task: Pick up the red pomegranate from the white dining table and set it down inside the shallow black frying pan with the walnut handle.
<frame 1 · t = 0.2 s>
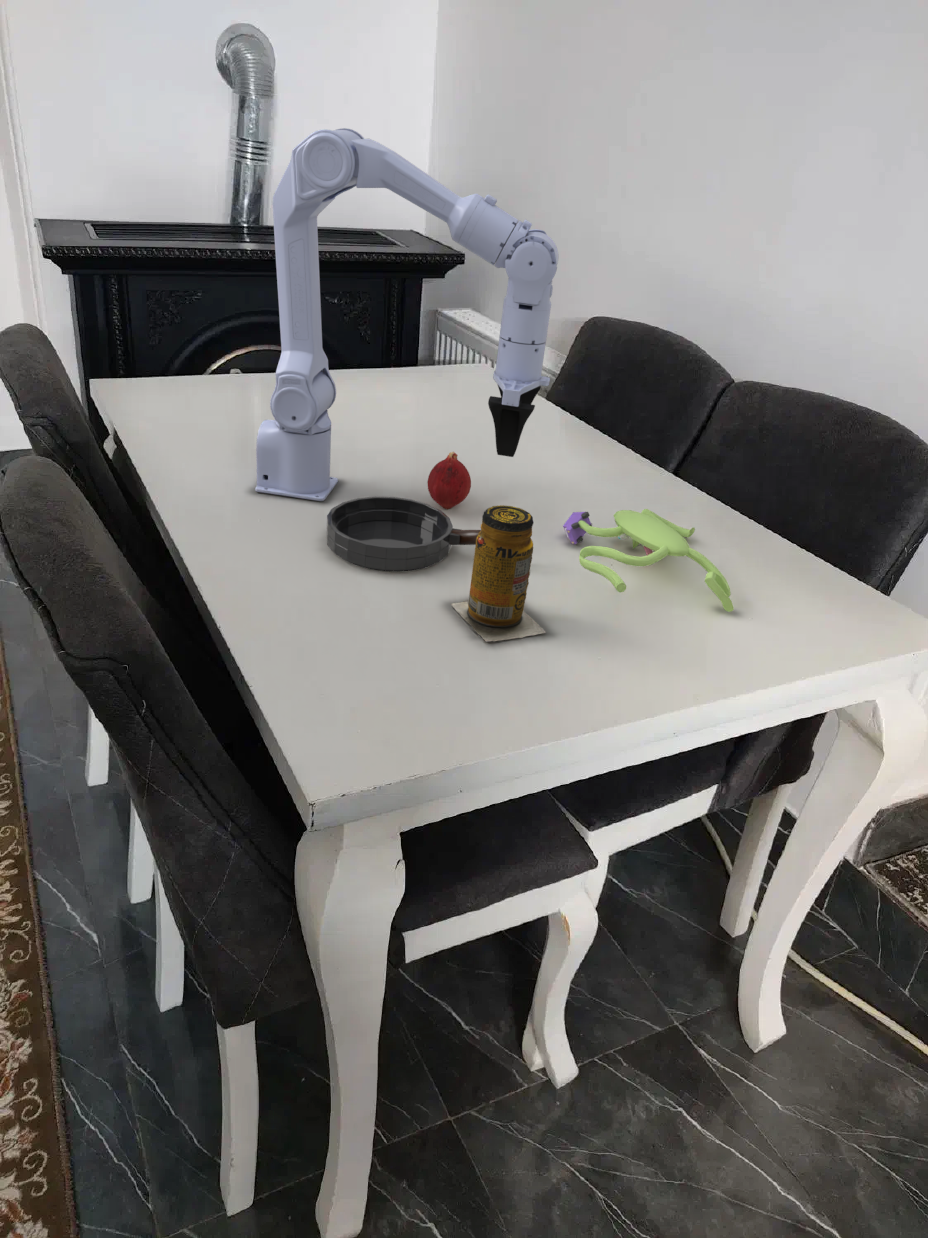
hand: (508, 445, 119), 10 cm above the table, tool pointing down, fingers open, 7 cm apart
figurine: (640, 571, 114), on the table
condiment: (497, 621, 99), on the table
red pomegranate: (446, 510, 124), on the table
pan handle: (485, 537, 110), point 3 cm above the table
pan: (388, 546, 113), on the table
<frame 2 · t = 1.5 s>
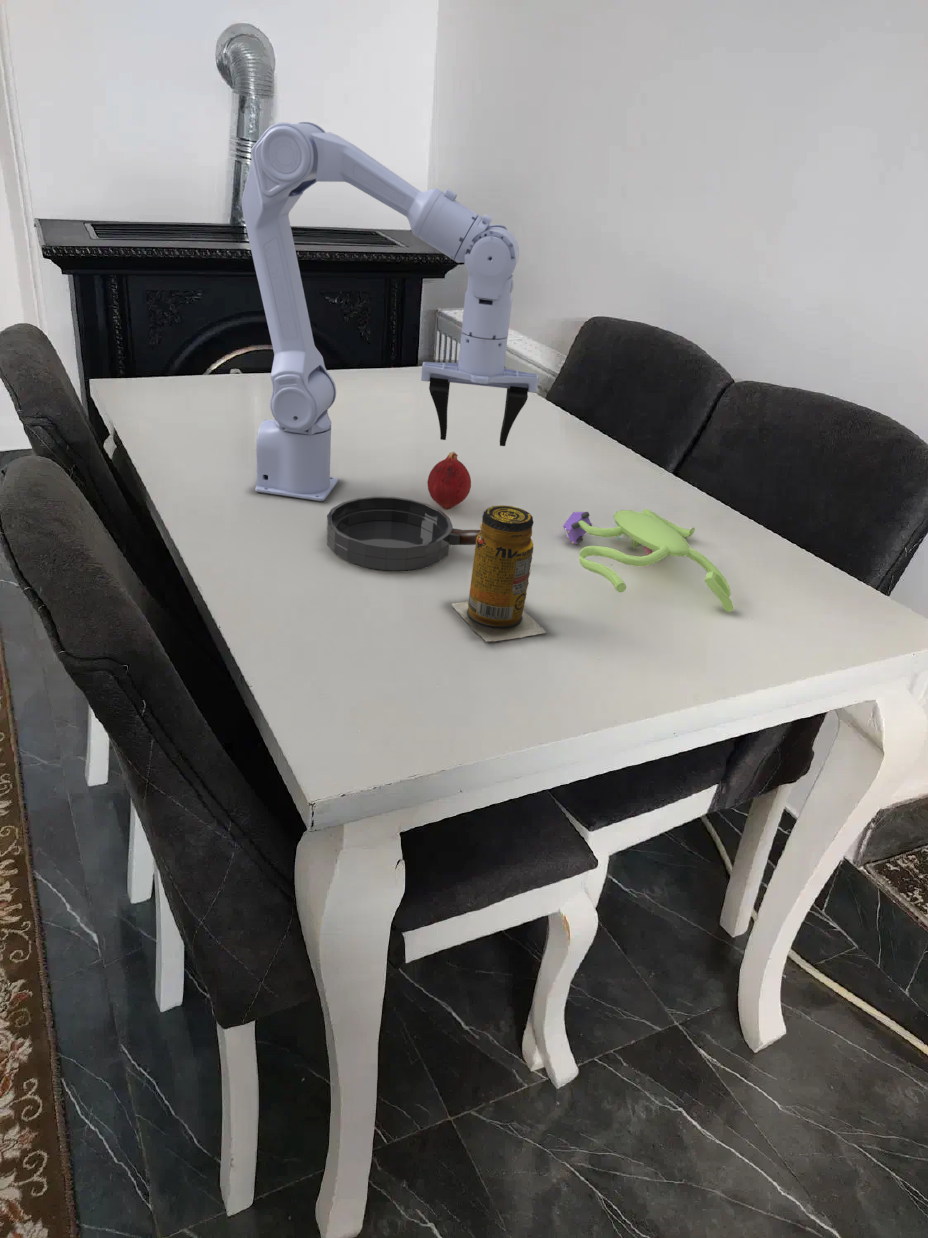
hand: (472, 440, 119), 10 cm above the table, tool pointing down, fingers open, 7 cm apart
nothing on the table moved.
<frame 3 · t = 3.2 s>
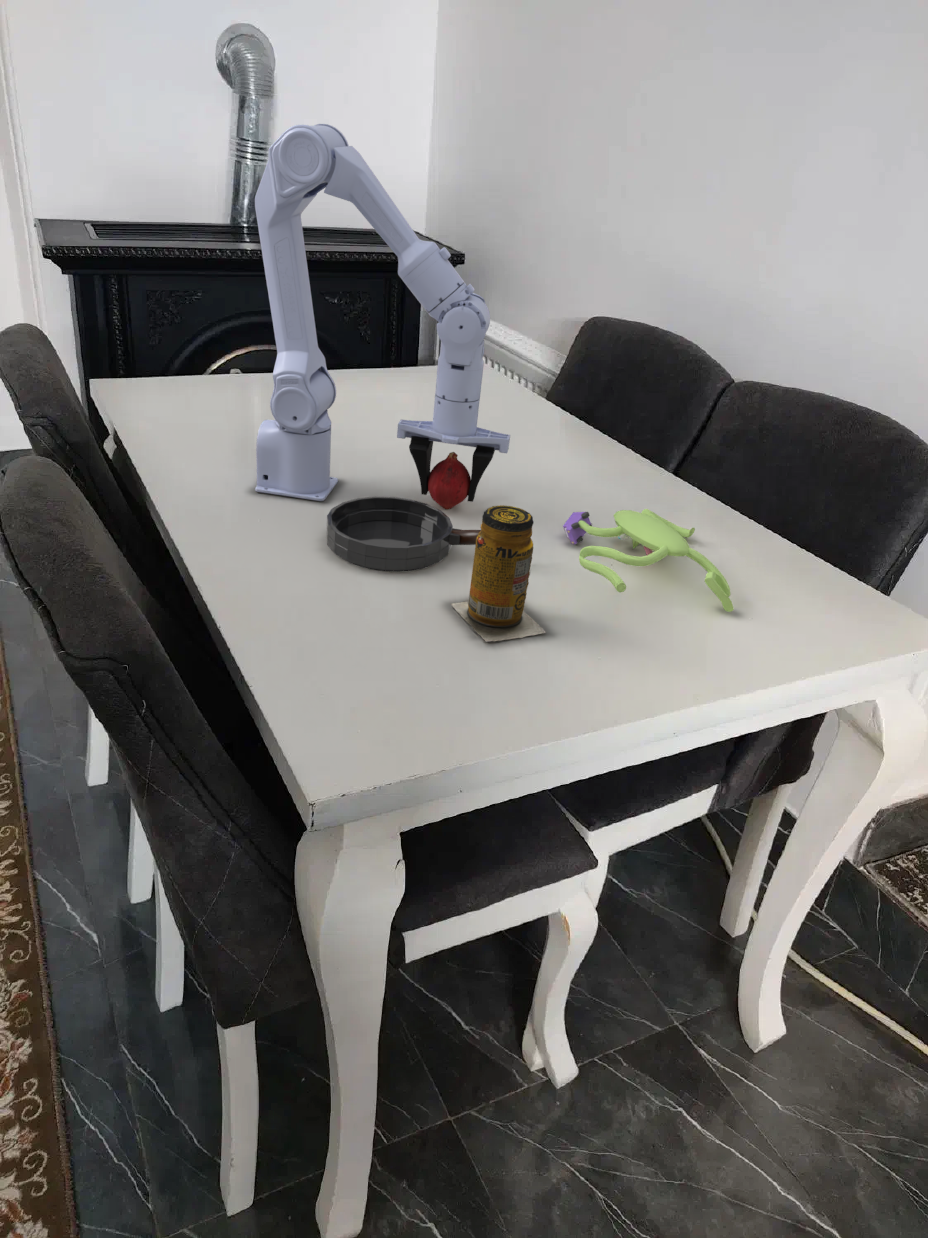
hand: (447, 495, 123), 2 cm above the table, tool pointing down, fingers closed on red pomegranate, 6 cm apart
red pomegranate: (446, 510, 124), on the table, touching gripper
everything else where it was.
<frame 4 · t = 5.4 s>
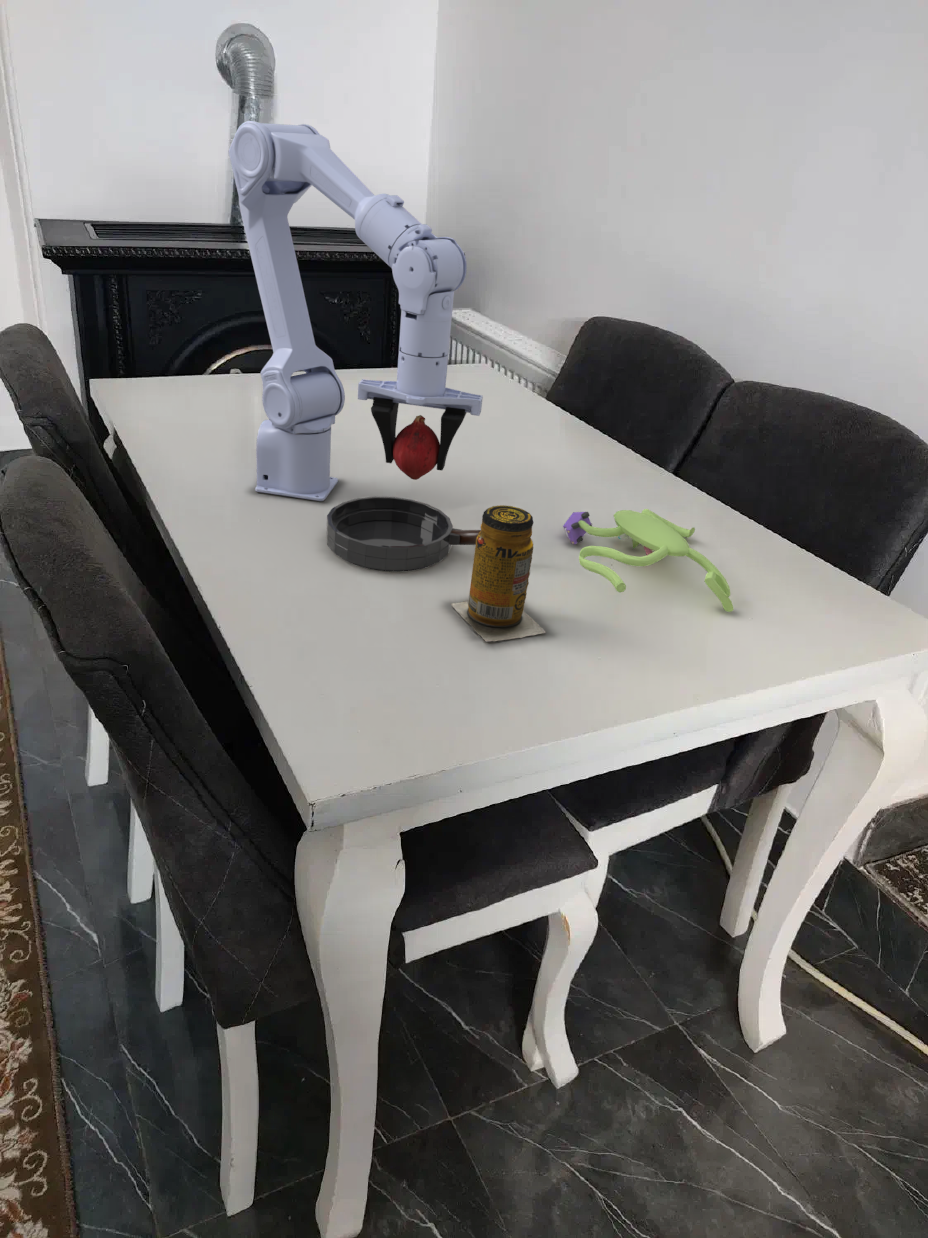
hand: (415, 463, 112), 9 cm above the table, tool pointing down, fingers closed on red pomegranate, 5 cm apart
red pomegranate: (414, 480, 113), point 7 cm above the table, touching gripper
everything else where it was.
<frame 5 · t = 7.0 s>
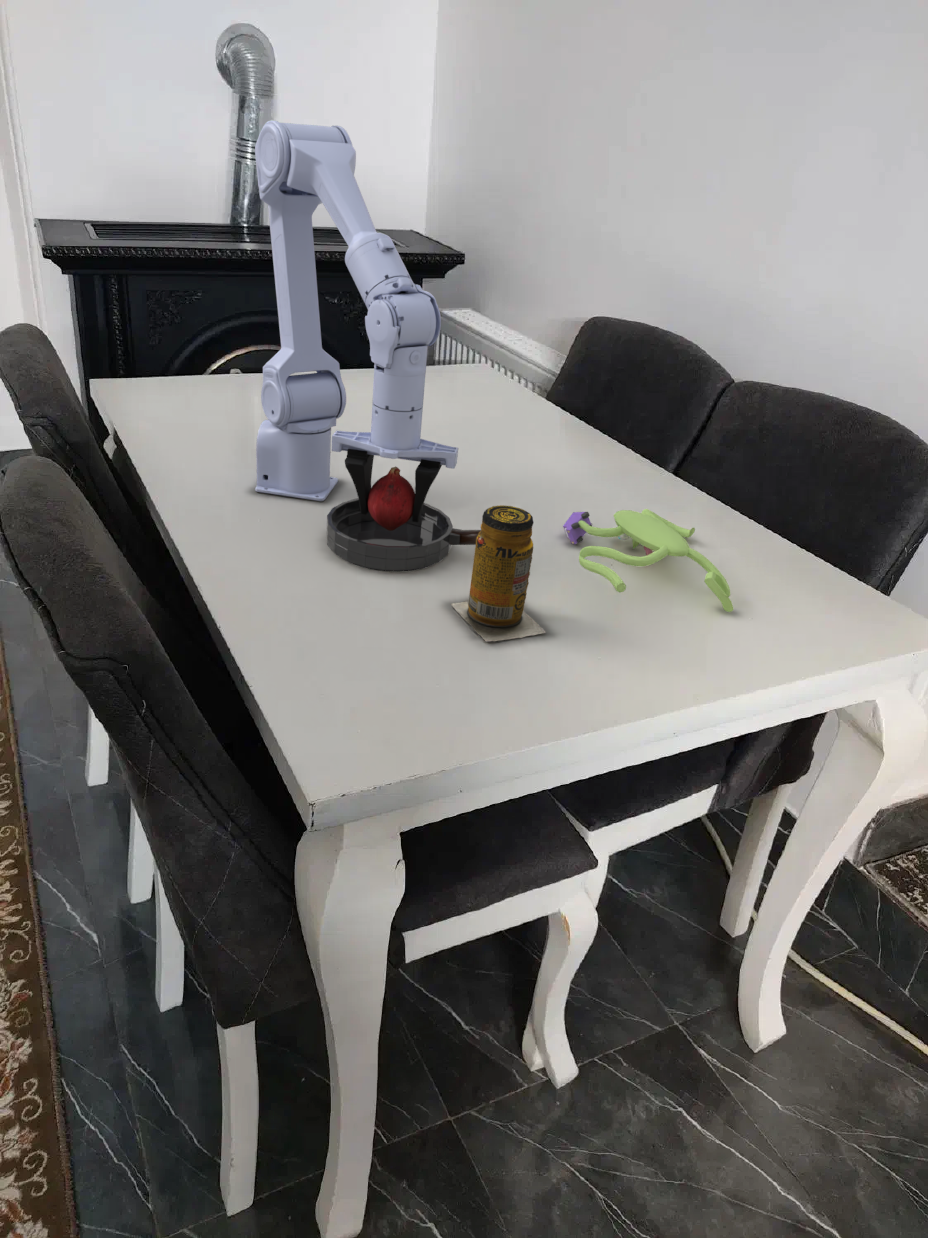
hand: (390, 514, 111), 4 cm above the table, tool pointing down, fingers closed on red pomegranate, 5 cm apart
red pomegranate: (389, 531, 112), point 2 cm above the table, touching gripper
everything else where it was.
when the fingers open (2 cm above the table, at t = 8.1 s): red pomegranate stays where it is, resting on pan.
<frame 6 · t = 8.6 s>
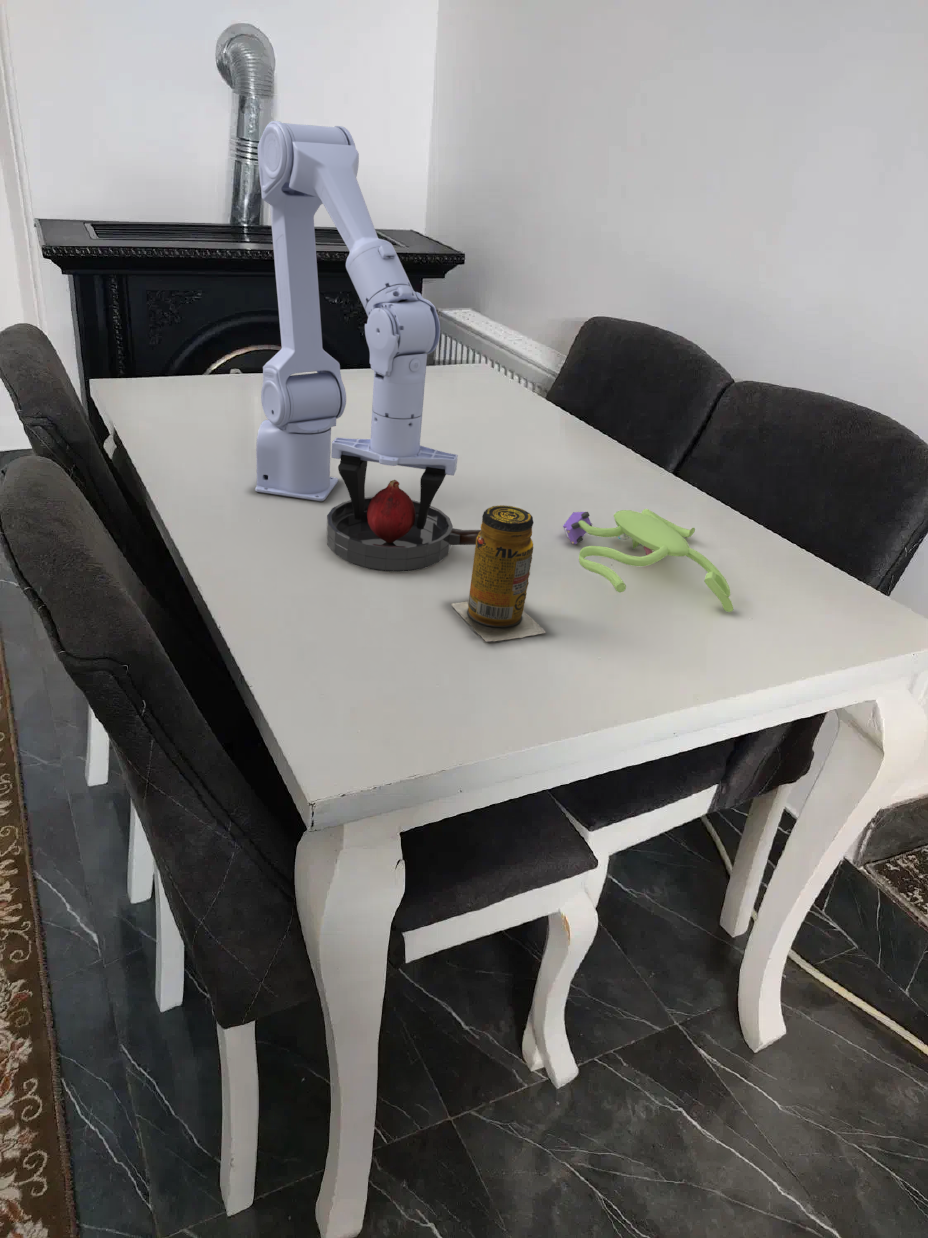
hand: (390, 521, 111), 3 cm above the table, tool pointing down, fingers open, 7 cm apart
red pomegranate: (389, 543, 112), resting on pan
everything else where it was.
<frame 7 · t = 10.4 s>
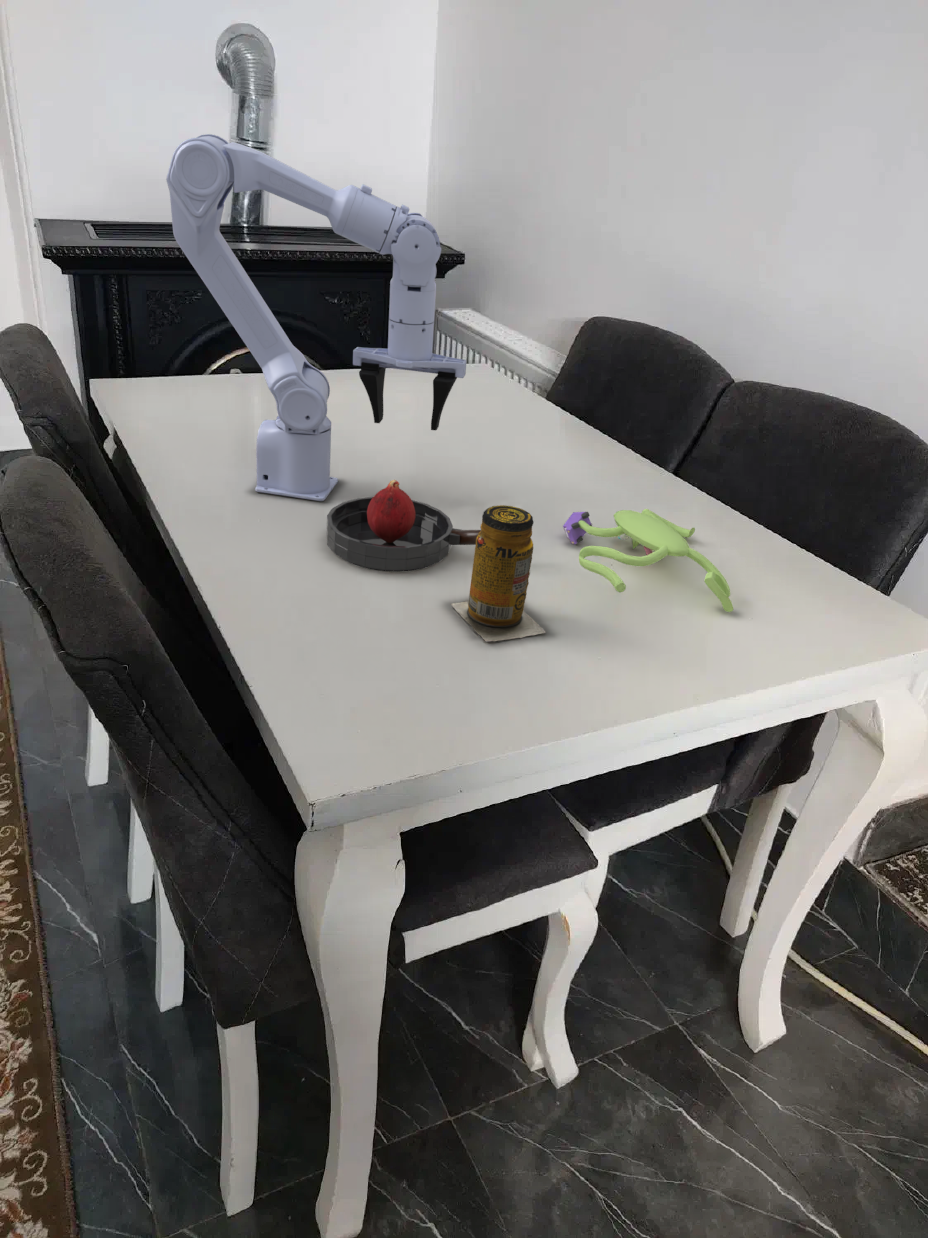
hand: (406, 424, 123), 10 cm above the table, tool pointing down, fingers open, 7 cm apart
nothing on the table moved.
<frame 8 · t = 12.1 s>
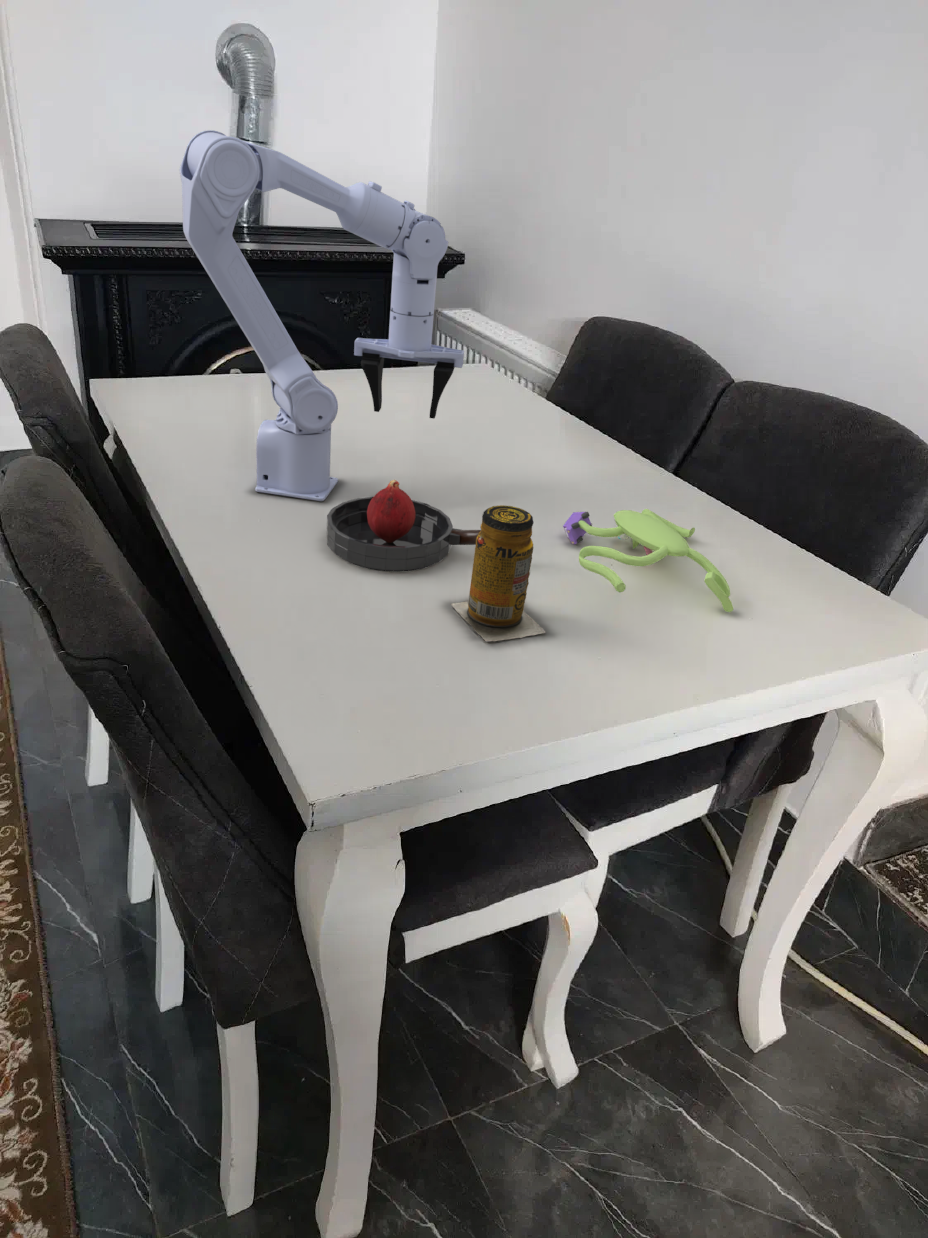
hand: (405, 412, 127), 10 cm above the table, tool pointing down, fingers open, 7 cm apart
nothing on the table moved.
at the end: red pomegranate inside the target area in the pan (0.1 cm from its centre), point 0.3 cm above the pan's base; the gripper is holding nothing; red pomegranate moved 14.9 cm from its start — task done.
